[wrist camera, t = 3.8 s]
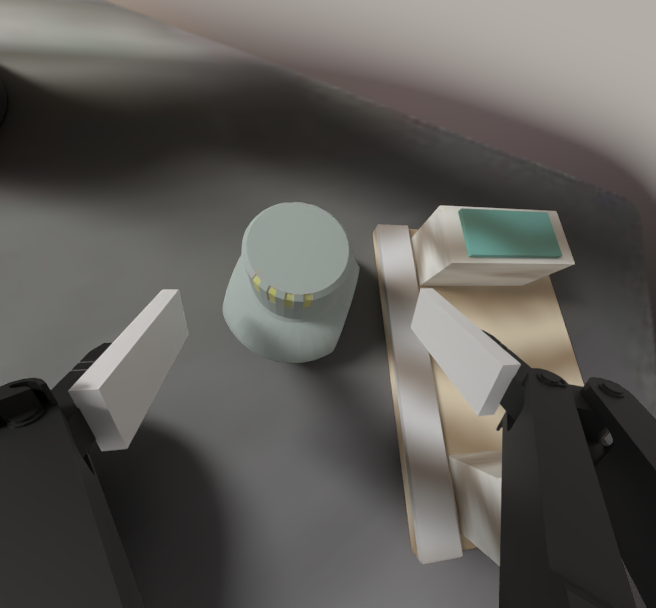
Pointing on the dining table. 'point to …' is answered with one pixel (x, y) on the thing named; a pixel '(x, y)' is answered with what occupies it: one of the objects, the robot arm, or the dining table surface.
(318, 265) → the air freshener
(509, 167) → the dining table surface
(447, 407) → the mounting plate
